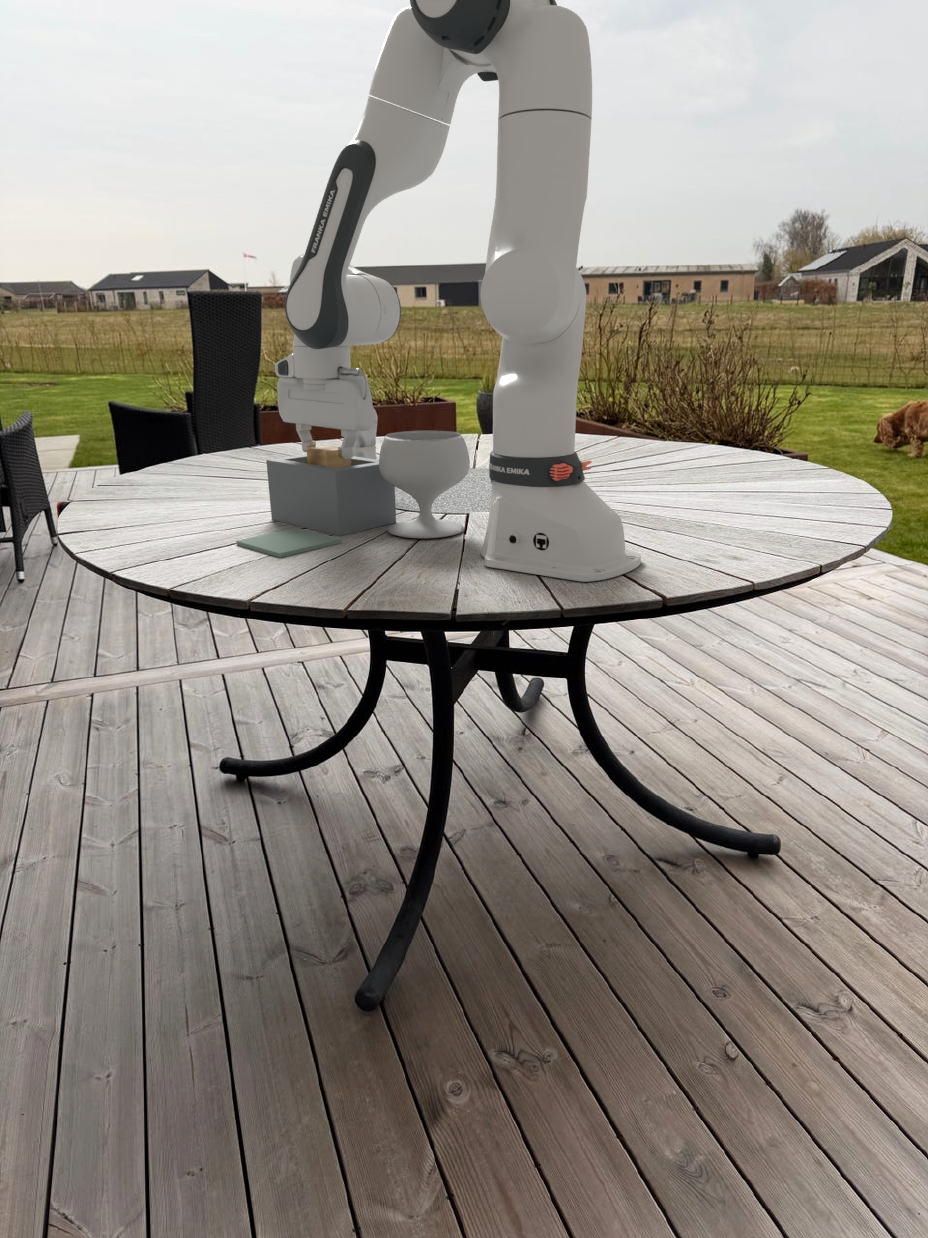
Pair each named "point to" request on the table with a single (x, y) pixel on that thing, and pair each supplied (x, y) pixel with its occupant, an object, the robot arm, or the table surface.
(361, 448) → the plastic bottle
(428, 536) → the chalice
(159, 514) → the table surface
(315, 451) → the honey block
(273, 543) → the green mat
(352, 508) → the box
